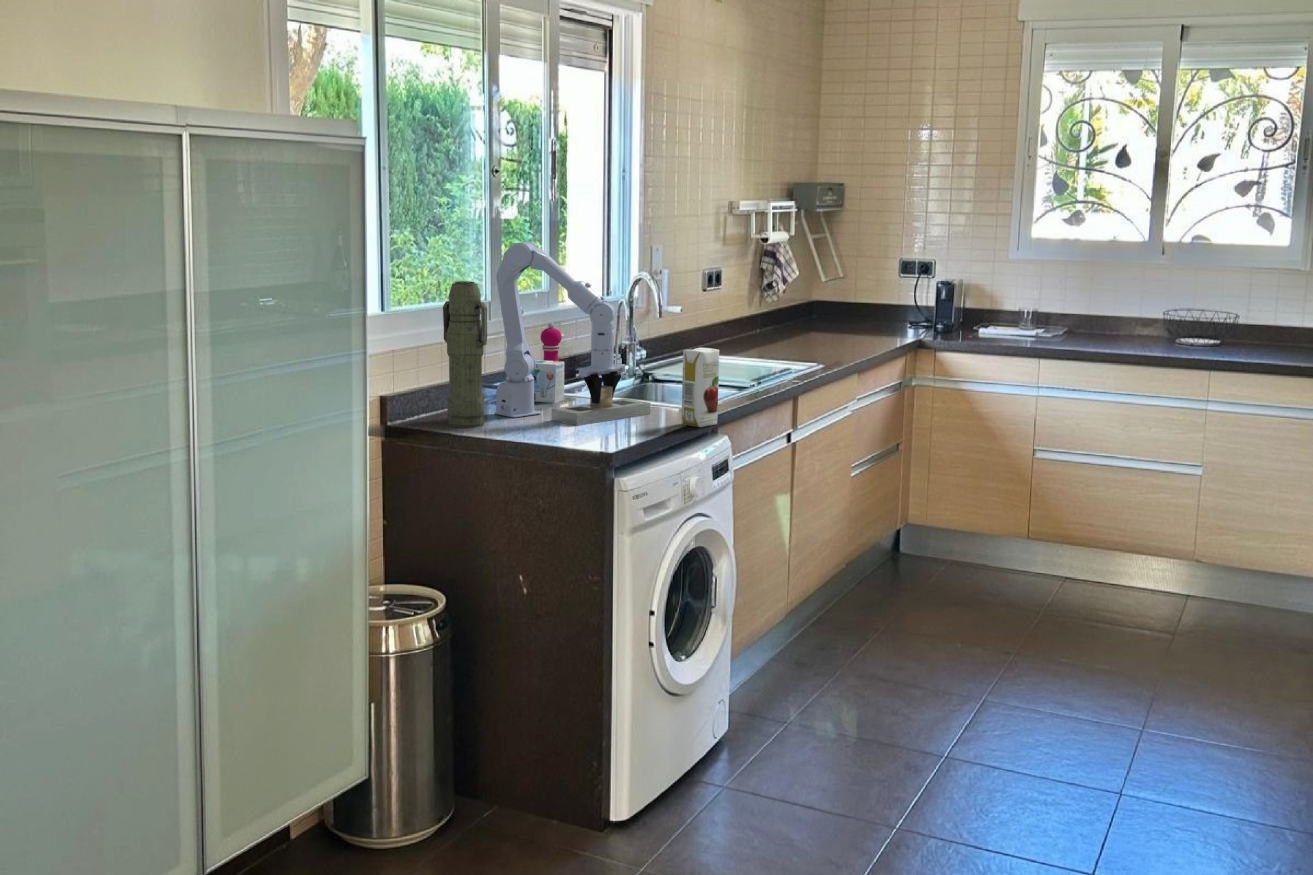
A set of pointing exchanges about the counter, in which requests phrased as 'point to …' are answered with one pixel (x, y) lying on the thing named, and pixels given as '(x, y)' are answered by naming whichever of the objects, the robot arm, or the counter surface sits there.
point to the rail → (600, 412)
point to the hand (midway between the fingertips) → (601, 402)
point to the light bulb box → (548, 381)
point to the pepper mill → (551, 342)
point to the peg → (604, 397)
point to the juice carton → (700, 387)
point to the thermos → (465, 353)
